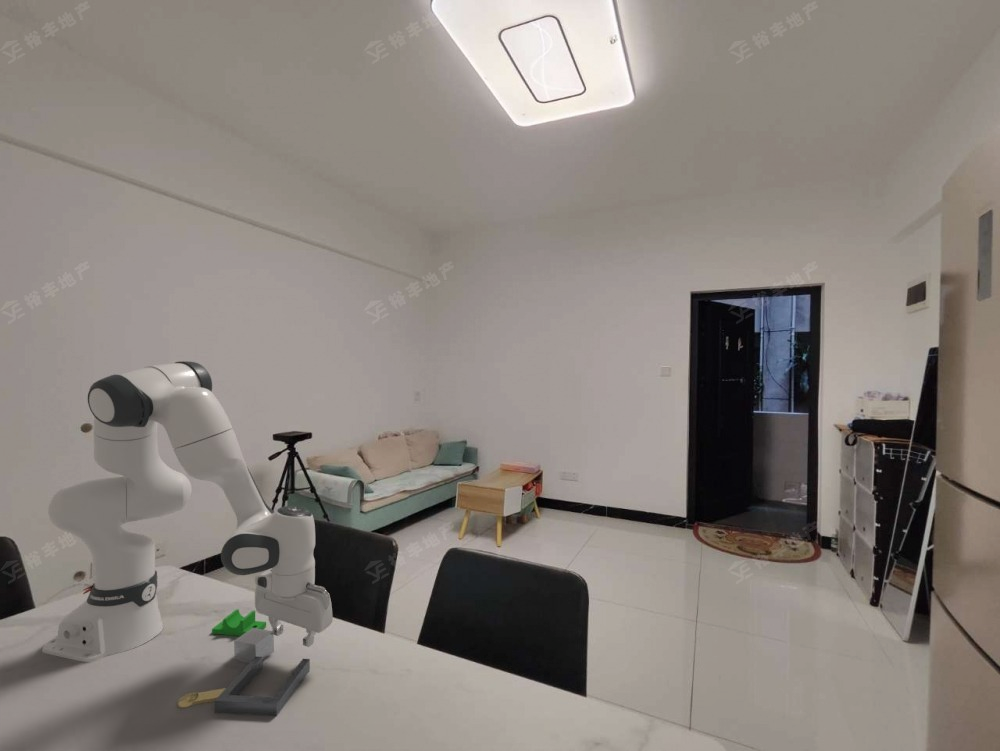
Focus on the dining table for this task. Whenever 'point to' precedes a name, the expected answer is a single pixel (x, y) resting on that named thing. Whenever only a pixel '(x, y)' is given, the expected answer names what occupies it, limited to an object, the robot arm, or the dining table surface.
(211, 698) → the brass key
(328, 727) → the dining table surface
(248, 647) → the block
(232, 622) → the pipe clamp
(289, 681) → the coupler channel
